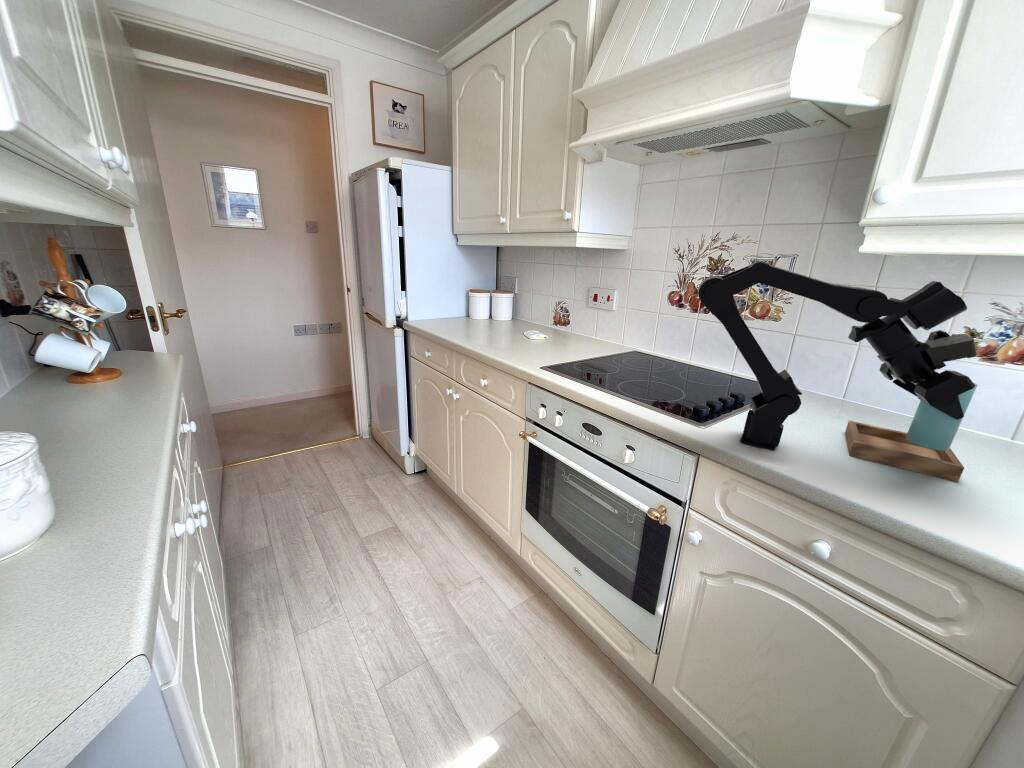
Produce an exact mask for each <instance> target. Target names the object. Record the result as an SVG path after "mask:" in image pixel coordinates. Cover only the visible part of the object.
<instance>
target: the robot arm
mask: <svg viewBox="0 0 1024 768" xmlns="http://www.w3.org/2000/svg"><path fill="white" fill-rule="evenodd" d="M758 284H763V285H766V286H769V287H772V288H775V289H778V290H781V291H783V292H784V291H785V292H788V293H790V294H794V295H797V296H800V297H803V298H807V299H809V300H812V301H816V302H819V303H820V304H821V305H824V306H826V307H828V308H830V310H834V311H835V312H836V313H839V314H841V315H843V316H845V317H846V318H850V319H852V320H853V321H857V322H860V323H864V324H862V325H852V326H851V331H850V332H849V334H848V337H847V338H848V339H849V340H850V341H852V342H855V343H859V342H860V341H862V340H866V341H867V342H868V343H869V345H870V346H871V347H872V348H873V350H874V351H875V352H876V353H877V355H876V356H877V358H878V360H879V361H880V362H883V363H881V364H880V367H879V372H880V373H881V374H882V376H883V377H885V378H886V379H887V380H889V381H892V383H893V384H894V385H895V386H896V387H897V386H898V387H899V388H901V389H903V390H905V391H906V392H907V393H910V394H912V395H913V396H914V397H915V396H916V397H917V399H919V401H920V400H921V401H923V402H925V403H926V404H928V405H930V406H932V407H934V408H936V409H938V410H939V411H941V412H943V413H945V414H947V415H949V416H951V417H952V418H954V419H956V420H959V419H961V418H963V419H964V418H965V414H963V411H962V407H961V404H960V401H959V396H958V395H960V394H962V393H964V392H966V391H969V390H971V389H973V388H974V387H975V384H976V383H975V382H973V380H971V378H970V377H969V376H967V375H966V374H963V373H961V372H958V371H956V370H948V369H945V370H944V371H941V372H939V371H936V370H941V369H943V368H945V367H947V364H946V363H947V362H953V361H958V360H961V359H966V358H967V359H971V358H975V357H976V356H977V350H976V344H975V339H974V337H971V336H968V335H964V334H956V333H952V334H951V335H950V334H948V332H947V331H944V330H941V329H940V330H938V329H937V330H934V331H931V332H929V335H928V337H927V339H926V340H925V341H924V342H922V341H920V340H918V338H917V337H916V336H915V334H913V333H912V331H911V330H910V329H909V328H908V326H909V327H910V328H912V329H913V330H915V331H916V330H918V329H923V330H924V331H930V330H931V329H933V328H935V327H936V326H939V325H940V324H942V323H943V324H944V322H947V321H948V320H950V319H952V318H954V317H956V316H958V315H960V314H962V313H964V312H965V311H967V310H968V305H967V304H966V302H965V301H964V299H963V298H962V297H961V296H960V295H958V294H956V293H954V291H952V290H951V289H949V288H948V287H947V286H945V285H943V283H942V282H940V281H935V280H933V281H930V282H929V283H927V284H925V285H924V286H923V287H922V288H920V289H918V290H917V291H915V292H913V293H911V294H910V295H908V296H906V297H904V298H903V299H898V298H894V297H890V298H888V295H886V294H885V293H884V292H882V291H879V290H875V289H872V288H866V287H858V286H852V285H845V284H838V283H830V282H826V281H823V280H820V279H816V278H813V277H810V276H807V275H803V274H801V273H797V272H794V271H790V270H787V269H784V268H781V267H778V266H774V265H771V264H770V263H768V262H766V261H759V260H758V261H754V262H752V263H751V264H749V265H747V266H744V267H742V268H740V269H737V270H735V271H732V272H730V273H726V274H724V275H722V276H716V275H711V276H708V277H706V278H705V279H703V280H702V281H701V282H700V284H699V285H698V289H697V295H698V299H699V301H700V302H701V303H702V304H703V305H704V307H705V308H706V309H707V310H708V312H710V313H711V314H712V315H713V316H714V317H715V318H716V319H717V320H718V321H719V322H720V323H721V324H722V325H723V327H724V329H725V330H726V332H727V333H728V335H729V337H730V338H731V340H732V341H733V342H734V344H735V346H736V348H737V349H738V351H739V352H740V354H741V356H742V357H743V358H744V360H745V362H746V364H747V366H748V367H749V368H750V369H751V371H752V373H753V374H754V376H755V379H756V381H757V384H758V387H759V390H760V392H758V393H757V394H755V395H753V396H751V397H749V406H750V408H751V409H749V410H748V411H747V415H746V419H745V423H744V427H743V432H742V434H741V437H740V440H739V442H740V443H742V444H746V445H750V446H753V447H757V448H762V449H765V450H769V451H773V452H774V451H776V448H777V447H779V445H780V442H781V438H782V435H783V431H784V427H785V425H784V422H785V421H786V420H787V419H788V417H789V416H791V415H794V414H795V413H796V412H797V411H798V410H799V409H800V407H801V405H802V400H801V397H800V396H802V395H803V393H802V391H801V390H800V389H799V387H798V386H797V385H796V384H795V383H794V380H793V378H792V376H791V374H789V372H788V371H787V370H786V369H783V370H781V371H780V372H779V371H778V370H776V369H775V367H773V365H772V363H771V361H770V360H769V359H768V357H767V356H766V354H765V352H764V350H763V349H762V347H761V346H760V344H759V343H758V341H757V340H756V337H755V336H754V335H753V333H752V331H751V330H750V329H749V327H748V325H747V324H746V322H745V321H744V318H743V317H742V316H741V314H740V312H739V307H738V306H737V302H736V300H735V297H734V295H736V294H737V295H738V294H739V293H741V292H744V291H745V290H748V289H749V288H750V287H753V286H756V285H758ZM881 317H882V318H881ZM902 319H903V320H902ZM904 322H905V323H906V324H907V325H906V324H905V323H904ZM974 383H975V384H974Z"/></svg>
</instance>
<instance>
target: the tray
mask: <svg viewBox="0 0 1024 768" xmlns="http://www.w3.org/2000/svg"><path fill="white" fill-rule="evenodd" d="M907 433H908V432H905V431H901V430H896V429H892V428H886V427H882V426H877V425H873V424H872V425H871V424H867V423H863V422H857V421H853V420H848V422H847V425H846V428H845V431H844V434H845V439H846V444H847V446H846V447H847V450H848V455H849V456H850V457H856V458H860V459H864V460H868V461H871V462H874V463H875V462H876V463H880V464H882V465H883V464H884V465H887V466H892V467H896V468H900V469H903V470H908V471H912V472H915V473H920V474H923V475H924V474H925V475H928V476H931V477H935V478H940V479H945V480H948V481H952V482H955V483H958V482H959V481H960V478H961V476H962V474H963V472H964V470H965V466H964V465H963V464H962V462H961V461H960V459H959V458H958V456H957V455H956V454H955V453H954V451H953V450H952V449H951V447H950V448H949V450H945V451H942V450H934V449H930V448H926V447H922V446H919V445H916V444H914V443H912V442H910V441H908V440H907V439H906V435H907Z"/></svg>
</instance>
